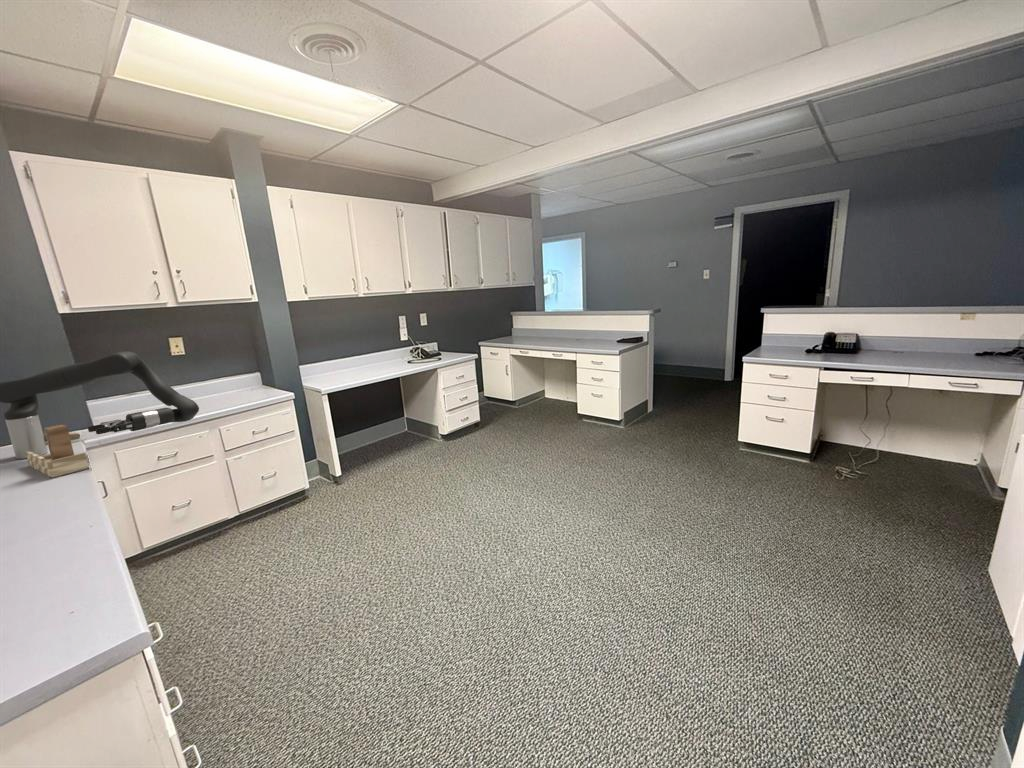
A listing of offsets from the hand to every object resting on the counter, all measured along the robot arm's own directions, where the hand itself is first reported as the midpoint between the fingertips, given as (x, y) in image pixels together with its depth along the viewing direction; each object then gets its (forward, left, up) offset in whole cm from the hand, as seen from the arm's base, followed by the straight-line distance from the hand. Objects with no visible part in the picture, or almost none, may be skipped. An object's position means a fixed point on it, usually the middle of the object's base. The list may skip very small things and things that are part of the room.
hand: (92, 430), depth 164 cm
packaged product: (-61, +4, -14) cm, 63 cm away
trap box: (-9, -10, -13) cm, 19 cm away
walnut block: (0, -9, -10) cm, 14 cm away
